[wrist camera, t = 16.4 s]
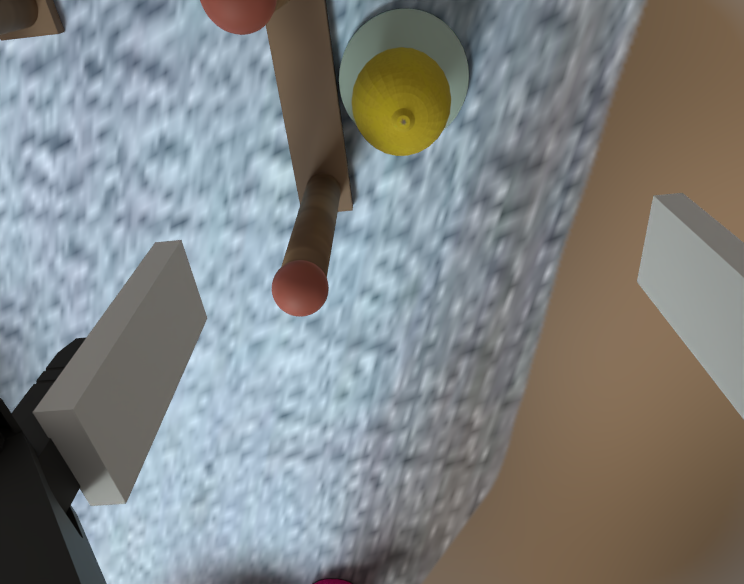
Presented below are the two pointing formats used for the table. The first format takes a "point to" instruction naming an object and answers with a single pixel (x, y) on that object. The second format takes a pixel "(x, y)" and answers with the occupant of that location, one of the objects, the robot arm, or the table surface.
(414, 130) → the lemon
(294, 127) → the gate course
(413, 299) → the table surface
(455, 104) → the pad
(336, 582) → the pepper mill
